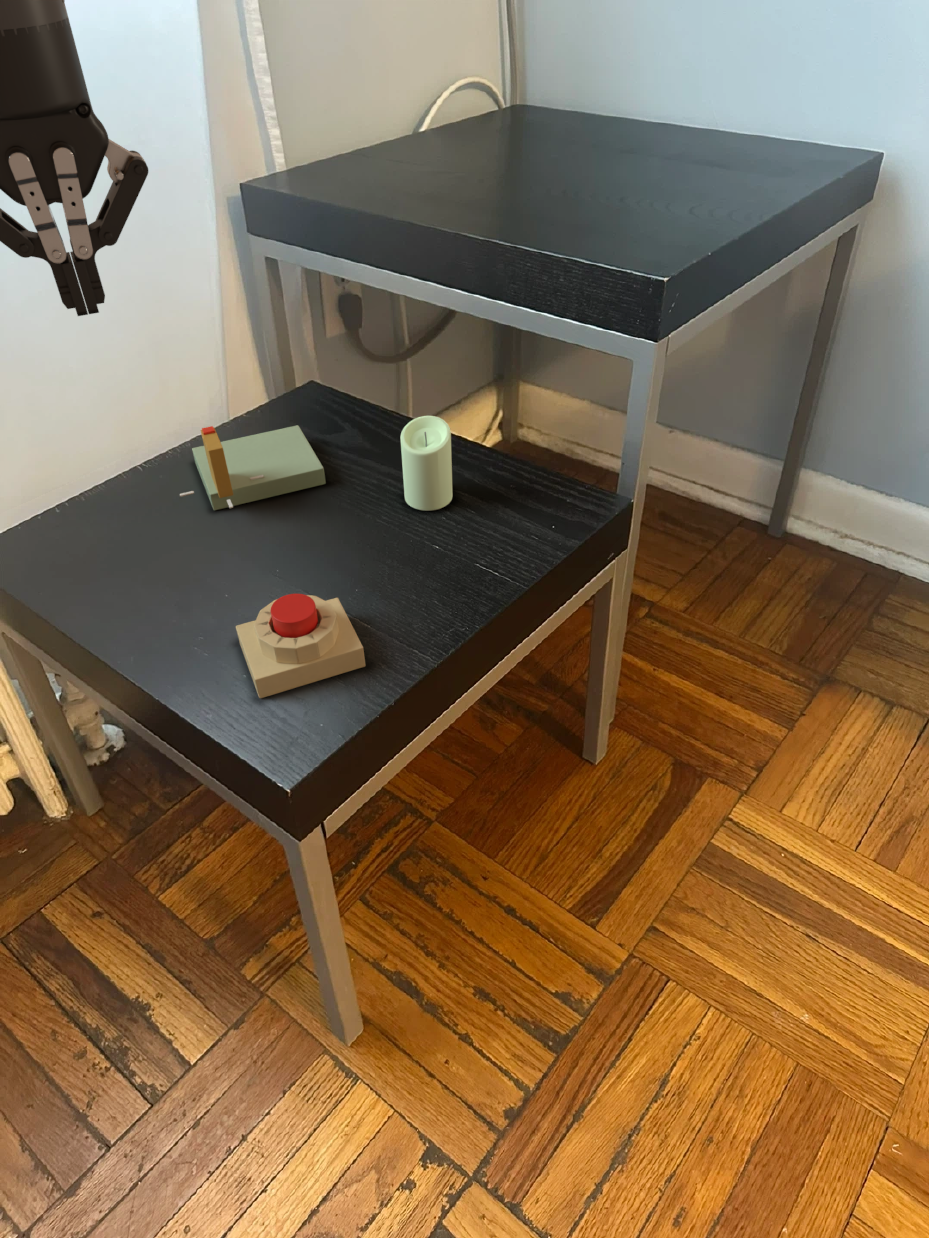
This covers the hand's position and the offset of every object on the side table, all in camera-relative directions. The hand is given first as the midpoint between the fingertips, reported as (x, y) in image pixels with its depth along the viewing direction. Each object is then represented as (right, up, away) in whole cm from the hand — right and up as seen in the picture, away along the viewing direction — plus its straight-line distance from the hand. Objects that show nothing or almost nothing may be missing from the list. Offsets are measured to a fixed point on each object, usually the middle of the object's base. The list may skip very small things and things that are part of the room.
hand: (87, 310), depth 62 cm
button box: (+13, -25, +13) cm, 31 cm away
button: (+13, -22, +10) cm, 27 cm away
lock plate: (+4, -7, +32) cm, 33 cm away
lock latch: (+2, -8, +28) cm, 30 cm away
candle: (+23, -9, +30) cm, 39 cm away
